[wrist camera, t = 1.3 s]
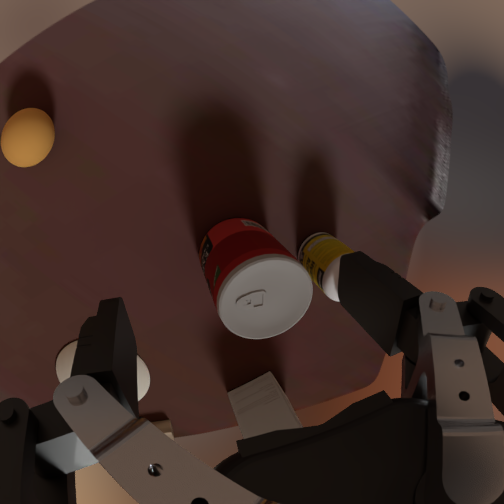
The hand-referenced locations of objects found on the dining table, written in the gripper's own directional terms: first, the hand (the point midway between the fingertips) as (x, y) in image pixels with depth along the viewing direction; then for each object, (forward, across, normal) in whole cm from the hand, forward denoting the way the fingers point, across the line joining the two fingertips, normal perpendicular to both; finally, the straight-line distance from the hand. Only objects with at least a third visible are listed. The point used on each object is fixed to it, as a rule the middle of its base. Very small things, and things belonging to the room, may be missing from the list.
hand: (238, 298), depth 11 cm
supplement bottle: (+22, -14, +10) cm, 28 cm away
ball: (+19, +14, -7) cm, 25 cm away
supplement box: (+22, -6, +32) cm, 39 cm away
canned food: (+22, -4, +8) cm, 24 cm away
